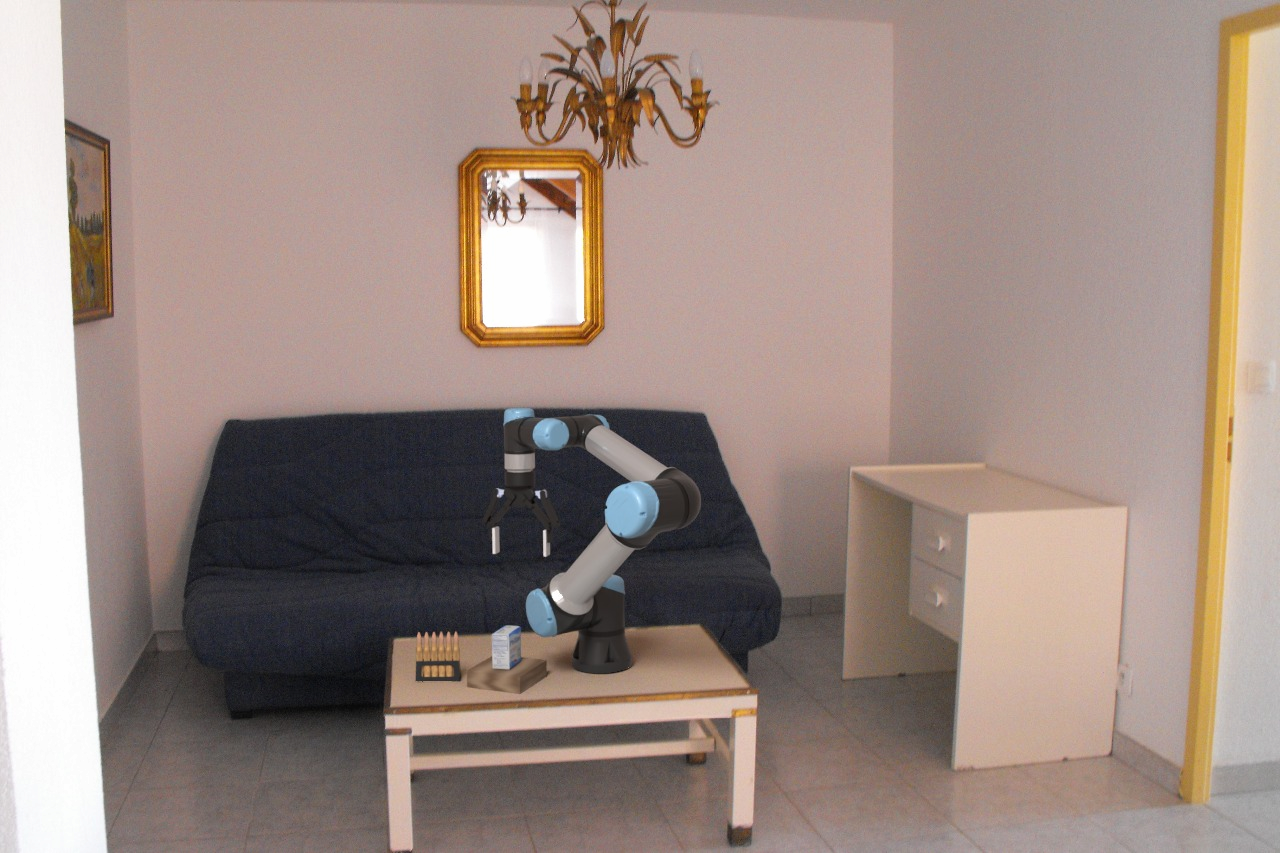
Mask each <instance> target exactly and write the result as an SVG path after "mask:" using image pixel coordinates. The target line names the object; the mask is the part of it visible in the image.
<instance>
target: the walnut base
mask: <svg viewBox="0 0 1280 853" xmlns="http://www.w3.org/2000/svg"><path fill="white" fill-rule="evenodd" d="M547 664H548V663H547V659H543V658H531V657H525V656H524V657H522V656H521V661H520V662H519V663H517V664H516V665H515V666H514V667H513V668H511V669H510V670H502V669H493V663H492V655H491V656H490V657H488V658H486V659H485V660H483V661H481V662H478V664H475V665H474V666H471V667H470V668H469V669H467V670H466V687H467V688H473V689H479V690H481V689H482V690H487V691H488V690H489V691H495V692H503V693H512V694H519V695H520V694H522V693H523V692H526V691H527V690H528V689H530V688H531V687H533V686H534V685H536V684H537V683H539V682H540V681H542V680H543V679H545V678H546V677H547V675H548V672H547V670H548V667H547ZM544 677H545V678H544ZM541 679H542V680H541ZM538 681H539V682H538ZM535 683H536V684H535ZM532 685H533V686H532ZM529 687H530V688H529Z"/></svg>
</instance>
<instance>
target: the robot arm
mask: <svg viewBox="0 0 1280 853" xmlns="http://www.w3.org/2000/svg"><path fill="white" fill-rule="evenodd" d="M503 413H504V414H503V424H502V425H503V443H504V444H503V445H504V446H503V448H504V469H505V470H506V471H505V472H504V489H502V488H501V487H497V488H494V489H493V490H492V497H491V500H490V502H489V504H488V507H487V509H486V512H485V513H484V515H483V517H482V520H481V524H482V525H483V526H486V527H488V539H489V541H492V555H496V554H498V553H500V552H501V551H500V550H501V549H500V526H497V525H498V523H499V522H500V521H501V520H502V519H503V517H504V516H505V514H506V513H507V512H508V511H509V510H510V508H521V509H522V508H523V509H524V508H528V509H529V510H531V512H532V513H533V514H534V515H535V517H536V518H537V520H538V521H539V522H540V523H541V524H542V526H543V527H544V528H545V529H544V530H542V539H543V540H542V542H543V543H542V544H543V545H542V546H543V547H542V548H543V552H542V554H543V558H544V557H545V558H546V557H548V556H550V555H551V544H552V543H554V529H556V528H559V527H560V526H561V521H560V518H559V517H558V515H557V513H556V511H555V509H554V507H553V505H552V503H551V500H550V499H549V492H548V489H542V490H537V489H536V471H535V470H534V469H535V468H536V458H535V457H536V455H535V454H536V452H535V451H536V449H538V450H544V451H559V450H561V449H563V448H564V449H565V448H572V447H573V448H574V447H575V448H576V447H581V448H583V449H584V450H585V451H587V452H589V453H590V454H591V455H593V456H594V457H596V458H597V459H598V460H599V461H601V462H602V463H604V464H605V465H606V466H608V467H609V468H611V469H613V470H614V471H616V472H617V473H618V474H619V475H621V476H623V478H625V479H626V480H628V481H630V482H627V483H624V484H623V483H622V484H620V485H619V486H617V487H615V488H614V489H613V490H612V491H611V493H609V494H608V497H607V499H606V502H605V506H606V507H607V508H605V509H604V517H605V520H604V521H605V522H604V523H605V524H604V526H603V527H602V528H601V530H600V531H599V532H598V533H597V535H596V536H595V537H594V538H593V539H592V541H591V542H590V543H589V544H588V545H587V547H586V548H585V549H584V550H583V551H582V552H581V554H580V555H579V556H578V557H577V558H576V560H575V561H573V563H572V564H571V566H570V567H569V568H568V570H566V571H565V572H560V573H558V574H556V575H555V576H554V577H552V579H551V580H550V581H549V582H548V583H547V584H546V586H544V587H542V588H536V589H533V590H531V591H530V592H529V594H528V595H527V597H526V601H525V609H526V610H525V613H526V618H527V621H528V623H529V625H530V628H531V629H532V631H534V633H535V634H536V635H538V636H539V637H542V638H550V637H551V638H555V637H556V636H560V635H563V634H564V635H565V634H569V633H572V632H577V631H578V632H577V633H578V634H577V638H576V642H575V645H574V648H573V651H572V654H571V667H572V668H573V669H575V670H576V671H578V672H583V673H588V674H612V673H611V672H614V673H618V672H617V671H619V672H622V671H621V670H623V671H625V670H624V669H626V668H628V667H630V666H631V665H633V655H632V652H631V649H630V645H629V643H628V639H627V637H626V628H625V627H626V626H625V625H626V617H625V615H626V606H625V605H626V591H625V581H624V579H623V578H622V577H621V576H620V575H616V574H615V572H616V571H617V570H618V569H619V568H620V567H621V566H622V564H623V563H624V562H625V561H626V560H627V559H628V558H629V557H630V555H631V554H632V553H633V552H634V551H635V550H642V549H644V548H646V547H647V546H648V545H649V544H650V543H651V542H652V541H653V539H655V538H656V536H658V534H661V533H664V532H670V531H675V530H680V529H683V528H685V527H688V526H689V525H691V524H692V522H694V521H695V519H696V518H697V516H698V515H699V513H700V511H701V506H702V496H701V492H700V489H699V488H698V486H697V484H696V483H695V481H694V480H693V479H692V478H691V477H690V476H688V475H687V474H686V473H684V472H683V471H682V470H680V469H678V468H677V467H675V466H670V467H667V466H666V465H665V464H663V463H661V462H660V461H658V460H656V459H655V458H654V457H652V456H651V455H650V454H648V453H646V452H644V451H643V450H641V449H640V448H639V447H637V446H635V445H634V444H633V443H631V442H629V441H628V440H626V439H625V438H623V437H622V436H620V435H619V434H617V433H616V432H615V431H613V430H611V429H610V428H611V427H610V424H609V422H608V421H607V418H606V417H605V416H603V415H600V414H593V413H592V414H584V415H574V416H572V415H571V416H559V417H558V416H557V417H546V418H545V417H536V416H535V411H534V409H533V408H530V407H511V408H507V409H505V411H504V412H503ZM503 496H504V497H505V499H506V501H505V502H504V503H503V504H502V507H501V508H500V509H499V510H498V511H497V513H496V514H495V515H494V513H495V511H496V509H497V506H498V504H499V502H500V499H501V498H503ZM535 498H538V499H539V500H540V502H541V505H542V506H543V508H544V510H545V513H546V514H545V513H544V511H543V510H542V508H541V507H540V506H539V504H538V502H537V501H536V500H535ZM631 667H632V666H631ZM631 667H630V668H631ZM628 669H629V668H628ZM626 670H627V669H626Z"/></svg>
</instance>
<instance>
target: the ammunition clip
mask: <svg viewBox="0 0 1280 853" xmlns="http://www.w3.org/2000/svg"><path fill="white" fill-rule="evenodd" d="M451 636H452V635H451V632H450V631H447V634H446V637H445V638H446V640H445V638H444V633H443V631H440V632H439V637H438V640H437V635H436V632H435V631H433V632H432V636H431V646H430V636H429V633H428V632H427V631H425V634H424V639H423V641H422V635H421V632H420V631H418V632H417V635H416V645H415V646H416V648H415V681H422V682H421V683H424V682H423V681H452V682H460V681H461V680H462V672H461V671H462V670H461V656H460V655H461V654H460V653H461V652H460V643H459V641H460V640H459V635H458V632H457V631H455V632H454V635H453V646H452V637H451ZM437 641H438V642H437ZM445 641H446V642H445Z"/></svg>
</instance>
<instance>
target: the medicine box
mask: <svg viewBox="0 0 1280 853" xmlns="http://www.w3.org/2000/svg"><path fill="white" fill-rule="evenodd" d="M521 633H522V627H521V626H519V625H503V626H502V627H501V628H499V629H498V630H496V631H494V632H493V633H491V656H492V663H493V669H502V670H510V669H511V668H513V667H514V666H515V665H516V664H517V663H519V662H520V661H521V657H522V634H521Z"/></svg>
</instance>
